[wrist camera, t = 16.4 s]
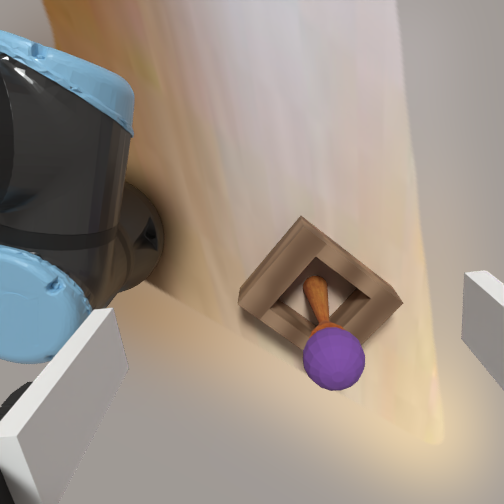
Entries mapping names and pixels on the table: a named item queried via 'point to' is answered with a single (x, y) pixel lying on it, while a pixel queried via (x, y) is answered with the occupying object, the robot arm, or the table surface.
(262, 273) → the socket block
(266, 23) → the table surface
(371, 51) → the table surface
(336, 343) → the kendama
